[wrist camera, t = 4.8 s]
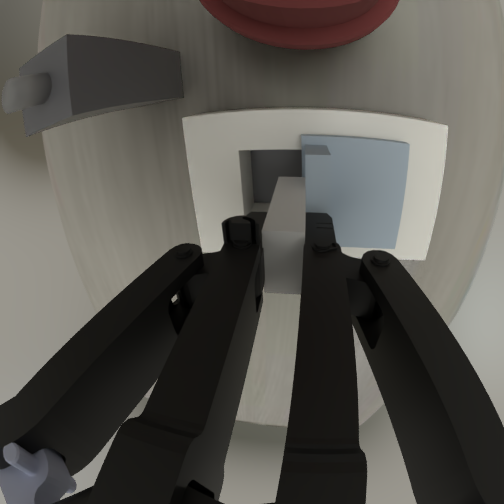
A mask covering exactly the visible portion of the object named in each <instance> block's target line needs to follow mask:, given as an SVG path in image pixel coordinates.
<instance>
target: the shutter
mask: <svg viewBox="0 0 504 504" xmlns="http://www.w3.org/2000/svg"><path fill="white" fill-rule="evenodd" d="M301 145H302V177H305V189H306V212H315V213H327V214H328V215H329V216H331V217H332V220H333V226H334V231H335V237H336V242H337V243H338V244H339V245H340V247H357V248H381V249H395V246H396V241H397V236H398V231H399V226H400V220H401V214H402V208H403V202H404V195H405V188H406V180H407V171H408V161H409V149H410V144H408V143H407V142H403V141H395V140H387V139H377V138H367V137H355V136H339V135H316V134H301Z"/></svg>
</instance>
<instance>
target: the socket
mask: <svg viewBox="0 0 504 504" xmlns="http://www.w3.org/2000/svg"><path fill="white" fill-rule="evenodd" d="M182 122H183V131H184V139H185V146H186V154H187V161H188V168H189V175H190V182H191V188H192V195H193V201H194V207H195V213H196V219H197V225H198V231H199V236H200V242H201V247H202V252H218V251H220V250H221V248H222V246H223V244H224V240H223V232H222V224H221V223H222V222H223V221H224V220H226V219H228V218H230V217H234V216H242V215H245V216H246V215H247V214H249V213H250V212H268V209H269V206H270V203H271V200H272V197H273V193H274V190H275V187H276V184H277V181H278V178H279V177H302V145H301V134H316V135H339V136H355V137H367V138H377V139H387V140H395V141H403V142H407V143H408V144H410V149H409V161H408V171H407V180H406V188H405V195H404V202H403V208H402V214H401V220H400V226H399V231H398V236H397V241H396V246H395V249H381V248H357V247H341V251H342V253H344V254H346V255H348V256H351V257H354V258H362V256H363V254H364V253H365V252H367V251H371V250H382V251H386V252H388V253H390V254H392V255H393V256H394V257H396V258H397V259H402V260H425V258H426V255H427V251H428V247H429V244H430V240H431V236H432V232H433V227H434V223H435V218H436V214H437V209H438V204H439V198H440V193H441V187H442V180H443V174H444V166H445V158H446V148H447V136H448V126H447V125H443V124H440V123H437V122H433V121H430V120H426V119H421V118H416V117H410V116H404V115H397V114H390V113H382V112H373V111H364V110H352V109H337V108H313V107H278V108H253V109H238V110H226V111H216V112H207V113H201V114H196V115H192V116H187V117H183V118H182Z"/></svg>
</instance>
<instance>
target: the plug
mask: <svg viewBox="0 0 504 504" xmlns="http://www.w3.org/2000/svg"><path fill="white" fill-rule="evenodd" d="M19 70H20V76H19V77H13V78H10V79H8V80H7V82H6V83H5V85H4V88H3V91H2V107H3V109H4V111H5V112H6V113H12V112H16V111H19V110H22V111H23V118H24V126H25V132H26V137H28V136H30V135H33V134H36V133H39V132H41V131H44V130H47V129H50V128H53V127H57V126H60V125H63V124H66V123H70V122H73V121H77V120H81V119H84V118H88V117H92V116H96V115H100V114H105V113H109V112H114V111H119V110H124V109H129V108H135V107H141V106H145V105H149V104H154V103H158V102H163V101H168V100H173V99H179V98H184V97H183V87H182V76H181V65H180V52H178V51H174V50H170V49H166V48H161V47H157V46H152V45H148V44H143V43H137V42H132V41H126V40H119V39H113V38H105V37H96V36H85V35H69V34H67V35H65V36H63V37H62V38H60V39H59V40H57V41H56V42H54V43H53V44H51V45H50V46H48V47H47V48H45V49H44V50H43V51H41V52H40V53H38V54H37V55H36V56H35V57H33V58H32V59H30V60H29V61H28V62H27V63H25V64H24V65H23V66H22V67H20V69H19Z"/></svg>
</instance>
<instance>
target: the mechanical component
mask: <svg viewBox="0 0 504 504" xmlns="http://www.w3.org/2000/svg"><path fill="white" fill-rule="evenodd" d="M200 2H201V3H202V5H203V6H204V7H205V8H206V9H207V10H208V11H209V12H210V13H211V14H212V15H213V16H214V17H215V18H217V19H218V20H219V21H220V22H222V23H223V24H224V25H226V26H227V27H229V28H230V29H232V30H233V31H235V32H237V33H239V34H241V35H243V36H245V37H246V38H249V39H252V40H255V41H257V42H260V43H264V44H267V45H271V46H276V47H282V48H288V49H301V50H309V49H324V48H332V47H337V46H341V45H345V44H348V43H351V42H354V41H356V40H359V39H361V38H363V37H364V36H366V35H368V34H370V33H371V32H372V31H374V30H375V29H376V28H378V27H379V26H380V25H381V24H382V23H383V22H384V21H385V20H386V19H388V18H389V17H390V15H391V14H392V12H393V11H394V10H395V8H396V6H397V4H398V2H399V0H200Z"/></svg>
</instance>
